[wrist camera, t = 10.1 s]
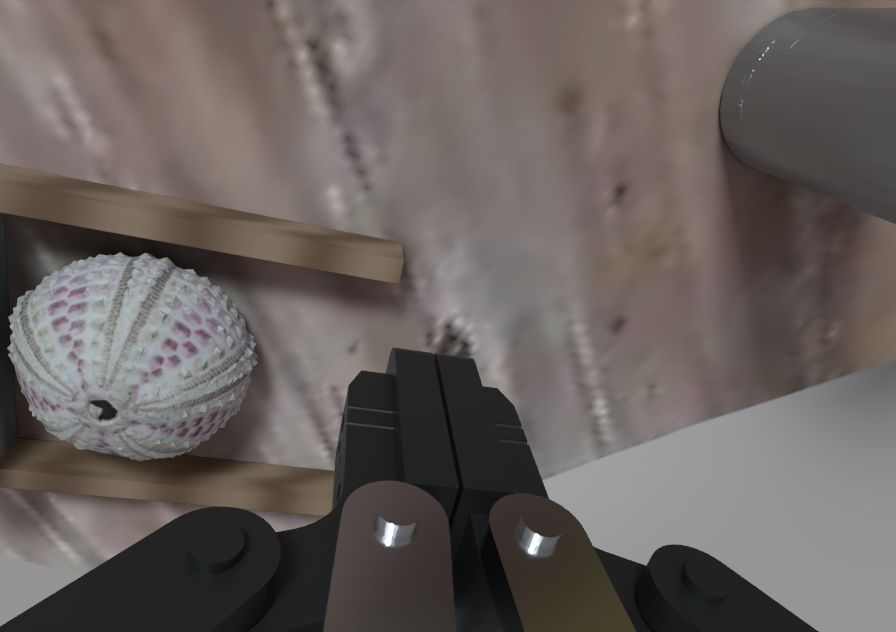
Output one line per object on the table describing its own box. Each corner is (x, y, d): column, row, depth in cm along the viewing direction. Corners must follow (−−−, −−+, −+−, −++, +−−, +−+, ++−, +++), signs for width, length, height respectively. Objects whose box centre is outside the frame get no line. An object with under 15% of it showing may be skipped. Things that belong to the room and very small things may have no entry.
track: (401, 242, 37) (408, 281, 32) (344, 487, 45) (342, 551, 40) (-65, 151, 31) (-152, 179, 26) (-33, 450, 39) (-93, 518, 34)
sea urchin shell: (304, 356, 40) (291, 430, 33) (148, 455, 42) (105, 546, 35) (155, 194, 34) (101, 242, 27) (-18, 319, 36) (-112, 394, 29)
